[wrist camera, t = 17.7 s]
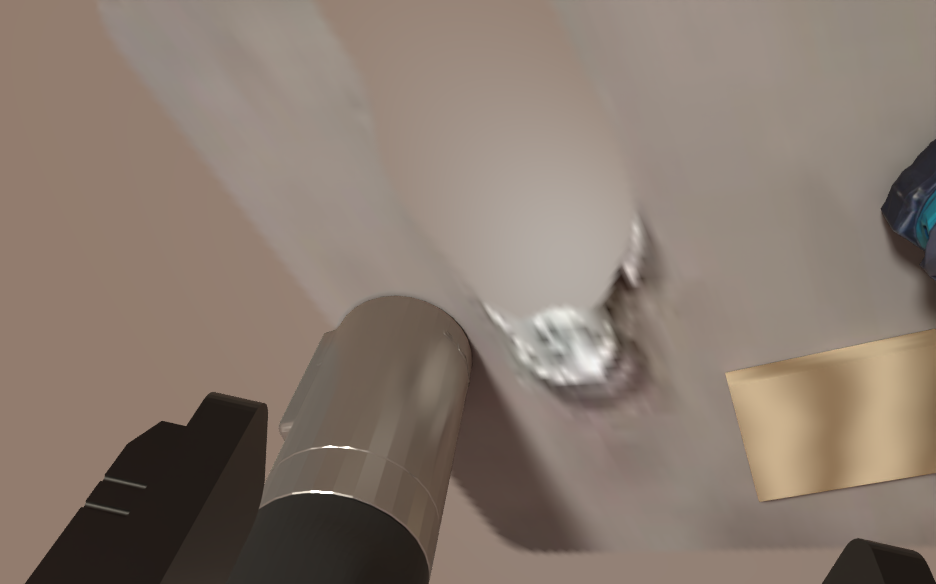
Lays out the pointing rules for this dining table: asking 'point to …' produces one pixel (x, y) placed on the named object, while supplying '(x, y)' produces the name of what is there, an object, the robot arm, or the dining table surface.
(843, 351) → the board
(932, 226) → the impact wrench
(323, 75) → the dining table surface
